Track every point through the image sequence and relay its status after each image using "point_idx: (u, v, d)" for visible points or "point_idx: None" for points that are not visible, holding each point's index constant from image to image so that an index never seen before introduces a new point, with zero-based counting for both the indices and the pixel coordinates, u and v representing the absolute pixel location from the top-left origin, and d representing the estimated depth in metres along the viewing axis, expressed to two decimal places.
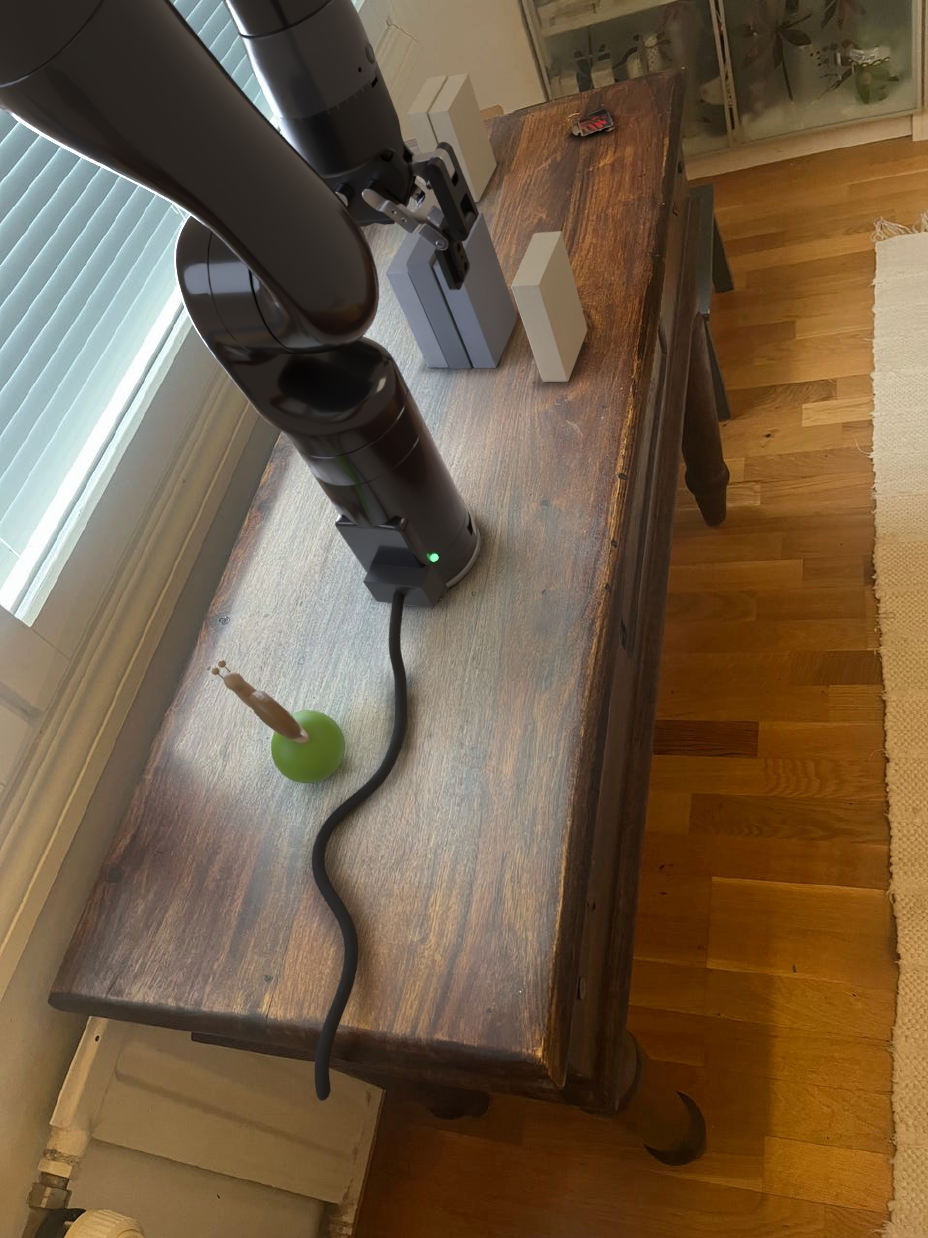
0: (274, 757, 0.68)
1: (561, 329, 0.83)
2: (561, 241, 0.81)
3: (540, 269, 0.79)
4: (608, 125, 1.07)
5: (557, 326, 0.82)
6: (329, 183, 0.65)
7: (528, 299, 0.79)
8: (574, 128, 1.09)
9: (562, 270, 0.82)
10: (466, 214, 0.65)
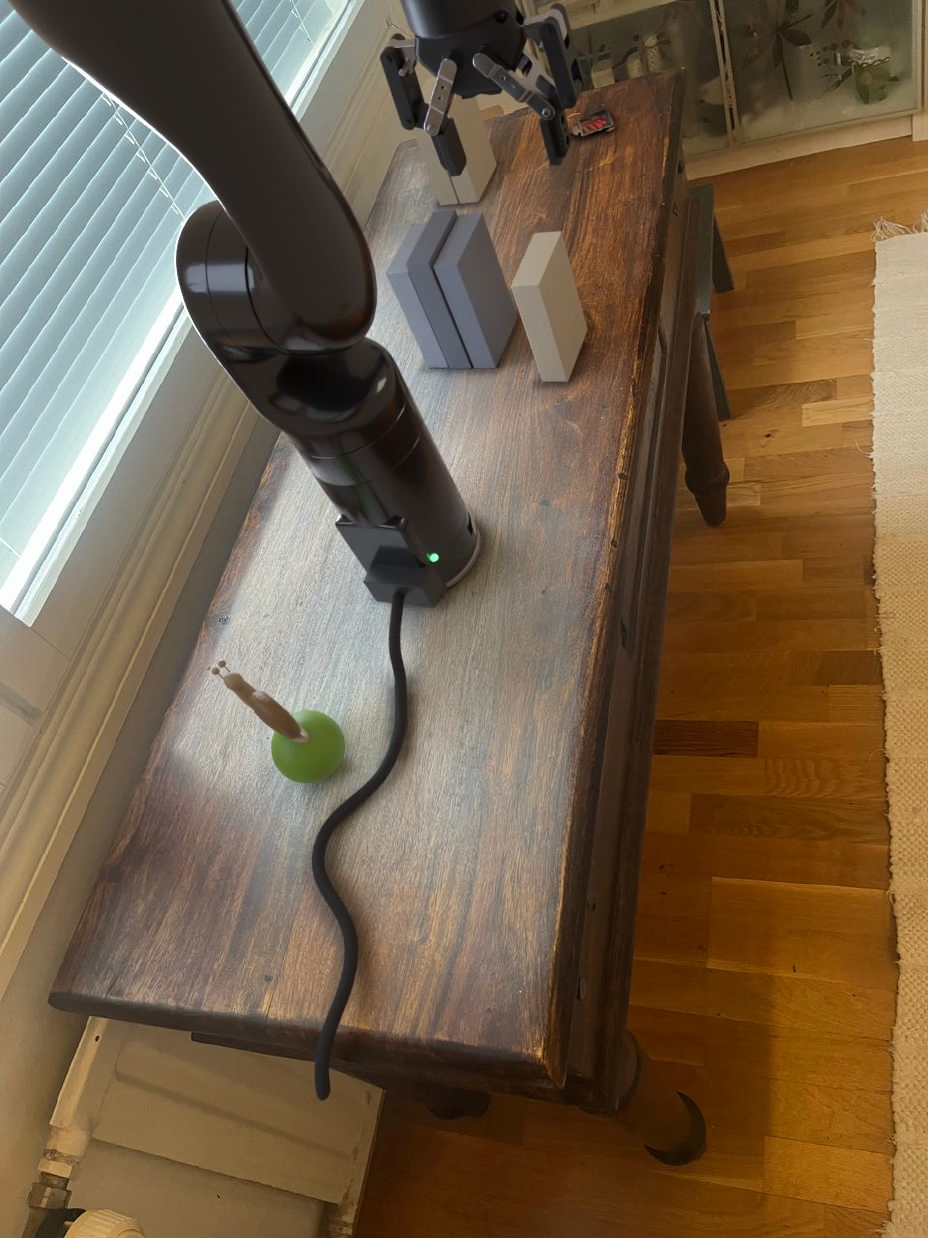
0: (274, 757, 0.68)
1: (561, 329, 0.83)
2: (561, 241, 0.81)
3: (540, 269, 0.79)
4: (608, 125, 1.07)
5: (557, 326, 0.82)
6: (438, 51, 0.66)
7: (528, 299, 0.79)
8: (574, 128, 1.09)
9: (562, 270, 0.82)
10: (574, 81, 0.66)
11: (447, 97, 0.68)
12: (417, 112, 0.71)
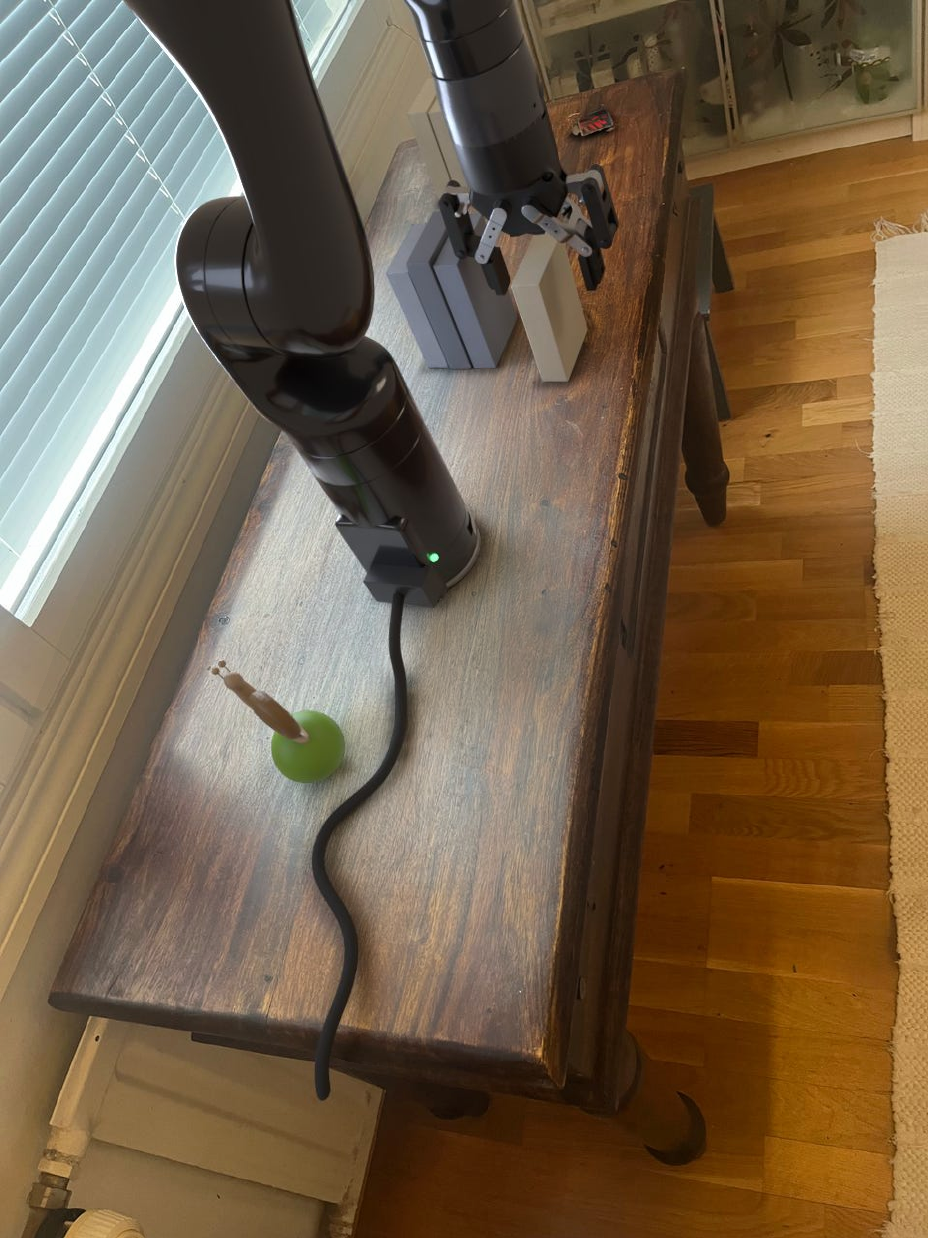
0: (274, 757, 0.68)
1: (561, 329, 0.83)
2: None
3: (540, 269, 0.79)
4: (608, 125, 1.07)
5: (557, 326, 0.82)
6: (490, 200, 0.75)
7: (528, 299, 0.79)
8: (574, 128, 1.09)
9: (562, 270, 0.82)
10: (609, 225, 0.75)
11: (497, 236, 0.77)
12: (469, 244, 0.80)
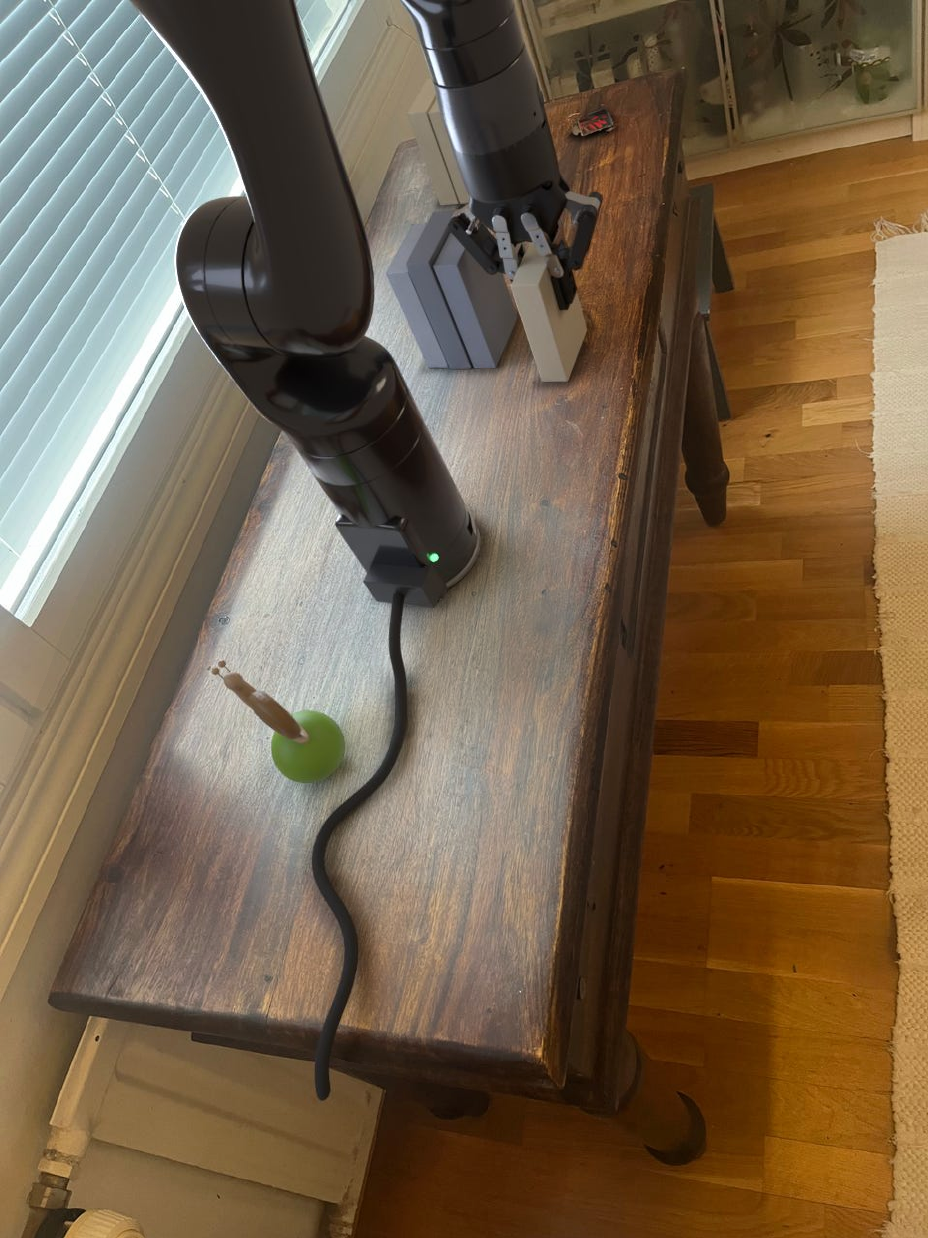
0: (274, 757, 0.68)
1: (561, 329, 0.83)
2: None
3: (540, 269, 0.79)
4: (608, 125, 1.07)
5: (557, 326, 0.82)
6: (490, 207, 0.75)
7: (527, 299, 0.79)
8: (574, 128, 1.09)
9: None
10: None
11: (510, 245, 0.77)
12: (499, 260, 0.80)
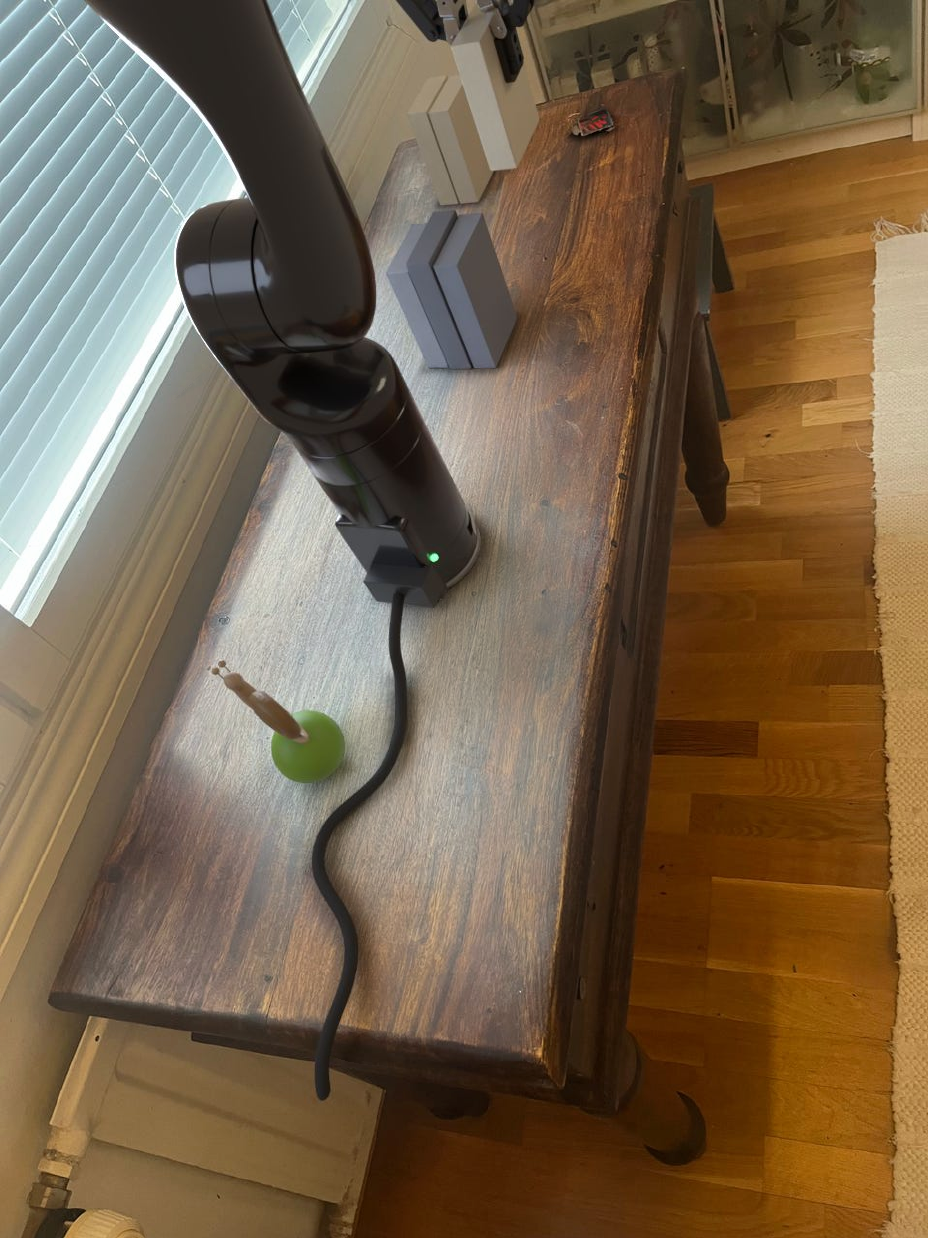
0: (274, 757, 0.68)
1: (507, 104, 0.79)
2: None
3: (482, 27, 0.74)
4: (608, 125, 1.07)
5: (503, 99, 0.78)
6: None
7: (469, 62, 0.75)
8: (574, 128, 1.09)
9: None
10: None
11: None
12: (440, 24, 0.76)
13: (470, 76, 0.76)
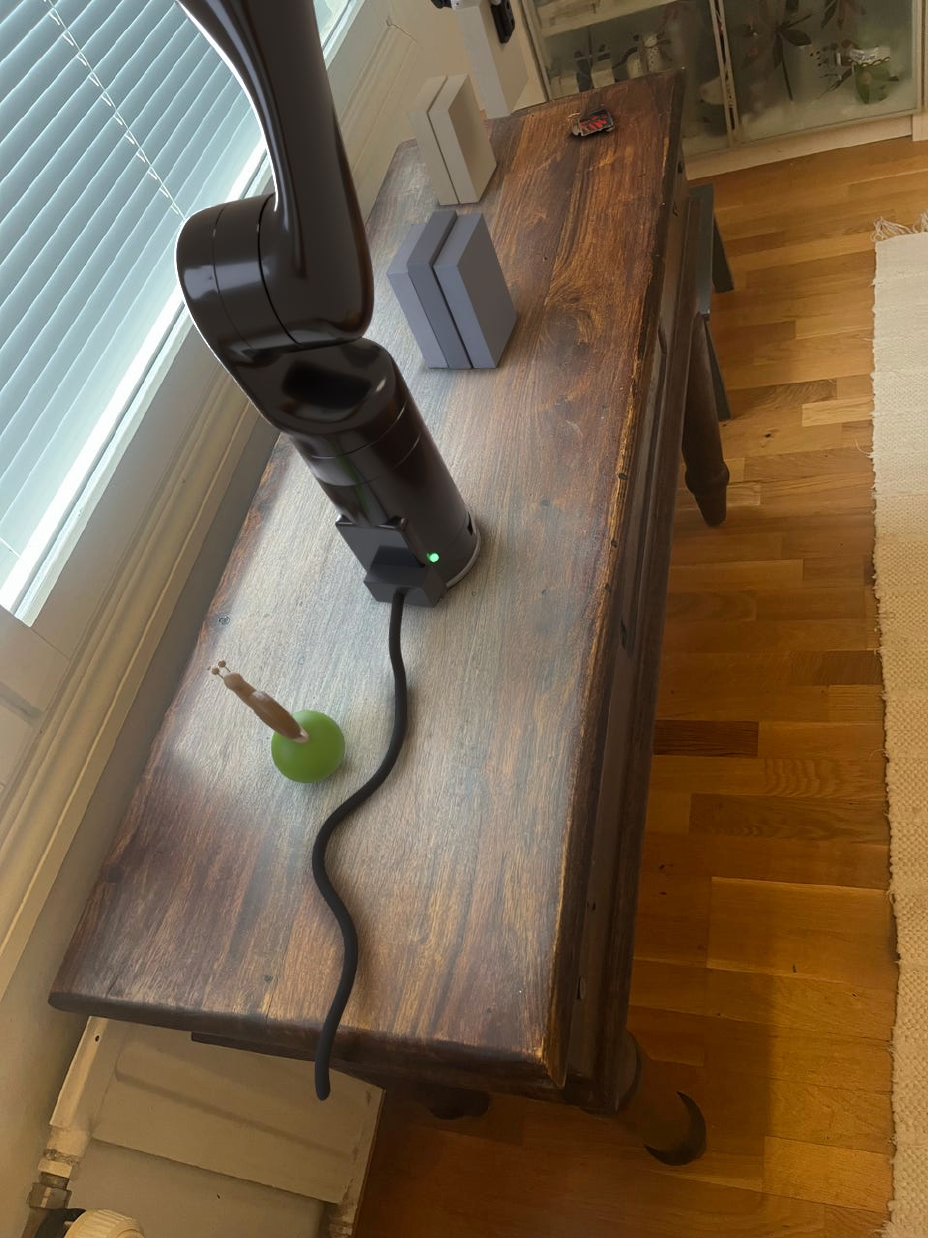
0: (274, 757, 0.68)
1: (502, 61, 0.94)
2: None
3: None
4: (608, 125, 1.07)
5: (498, 56, 0.93)
6: None
7: (470, 24, 0.90)
8: (574, 128, 1.09)
9: None
10: None
11: None
12: None
13: (471, 36, 0.91)
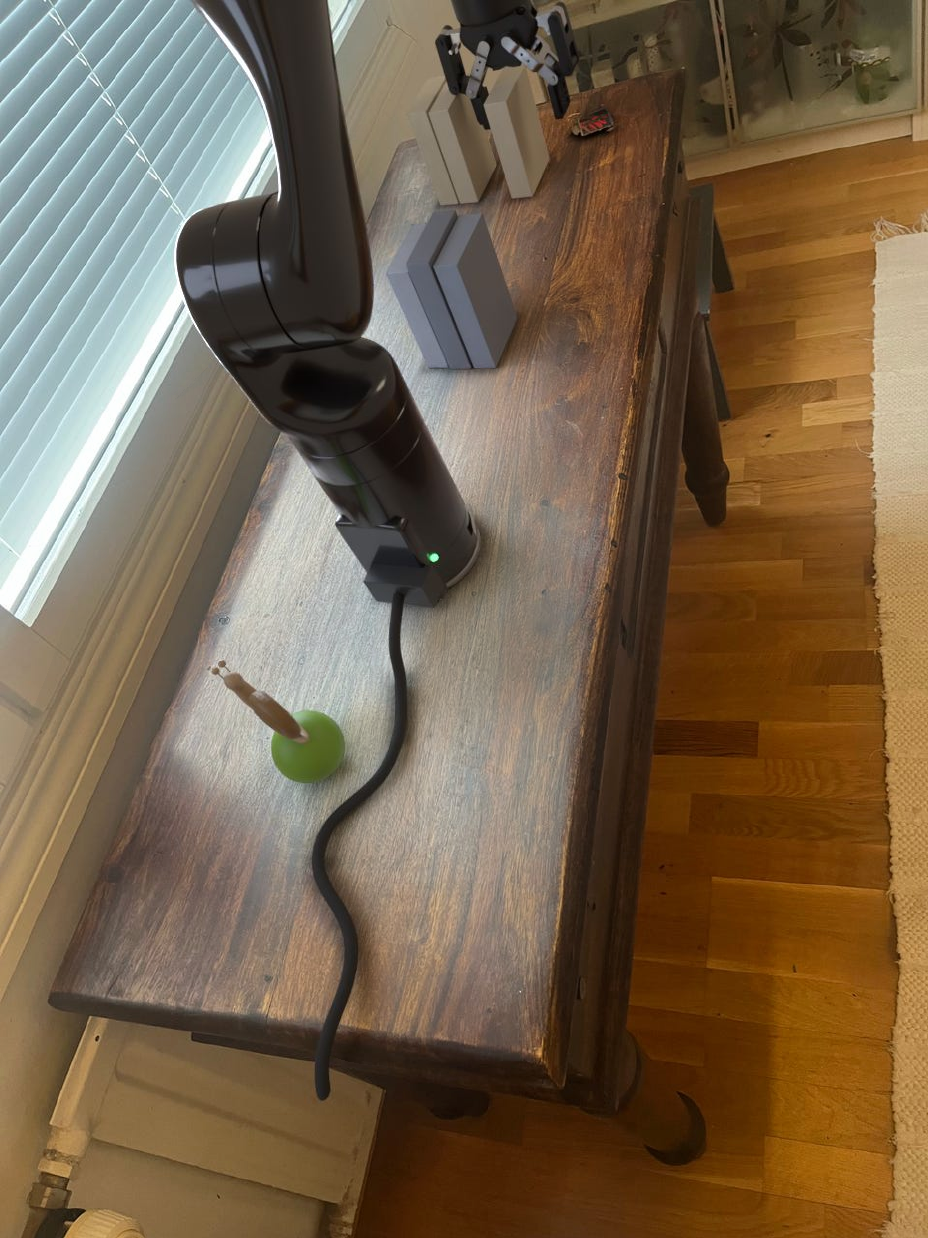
0: (274, 757, 0.68)
1: (526, 148, 1.02)
2: (525, 72, 0.99)
3: (507, 90, 0.97)
4: (608, 125, 1.07)
5: (522, 144, 1.01)
6: (476, 36, 0.94)
7: (497, 116, 0.98)
8: (574, 128, 1.09)
9: (526, 97, 1.00)
10: (571, 56, 0.93)
11: (482, 69, 0.96)
12: (461, 82, 0.99)
13: (498, 127, 0.99)
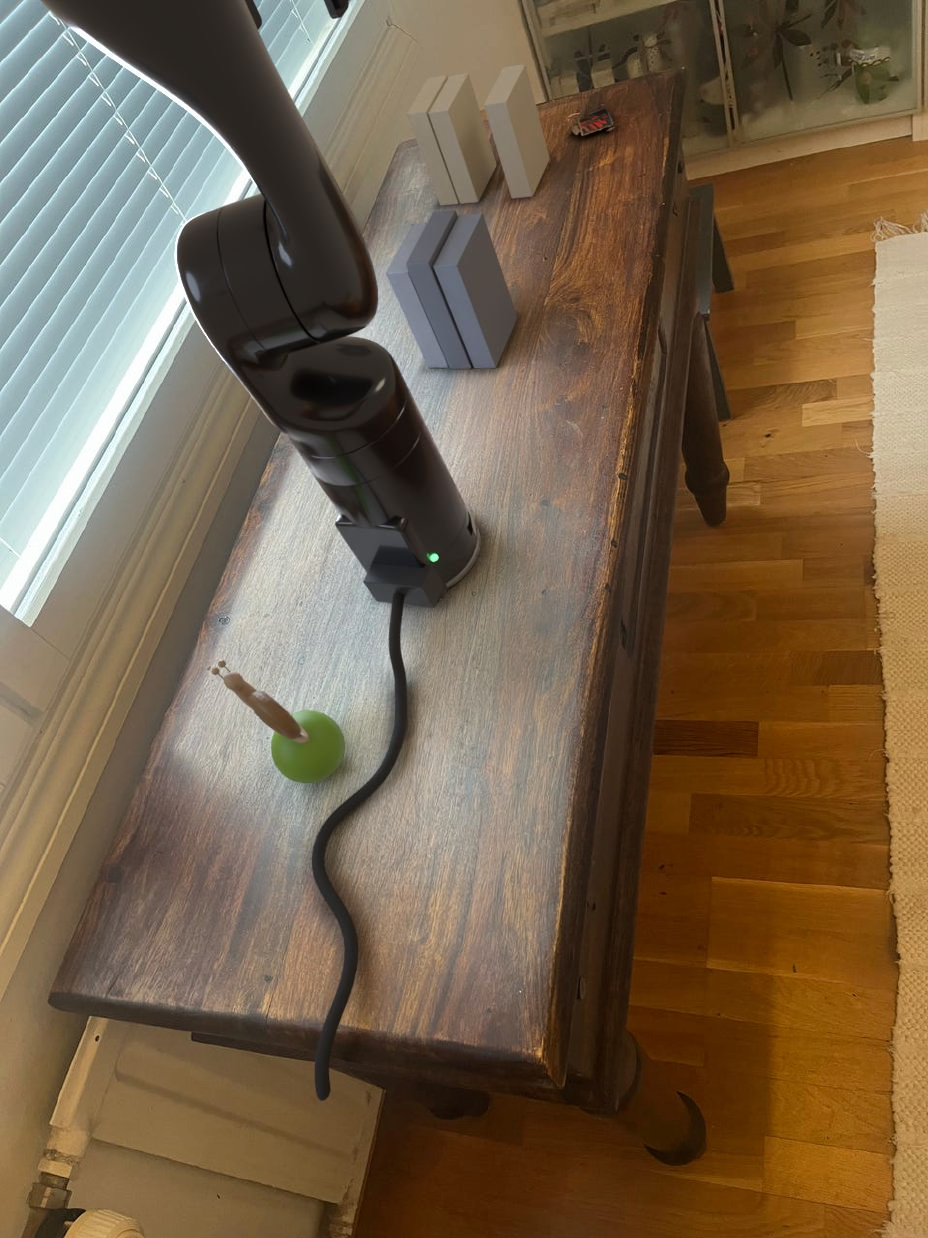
0: (274, 757, 0.68)
1: (526, 148, 1.02)
2: (525, 72, 0.99)
3: (507, 90, 0.97)
4: (608, 125, 1.07)
5: (522, 144, 1.01)
6: None
7: (497, 116, 0.98)
8: (574, 128, 1.09)
9: (526, 97, 1.00)
10: None
11: None
12: None
13: (498, 127, 0.99)
